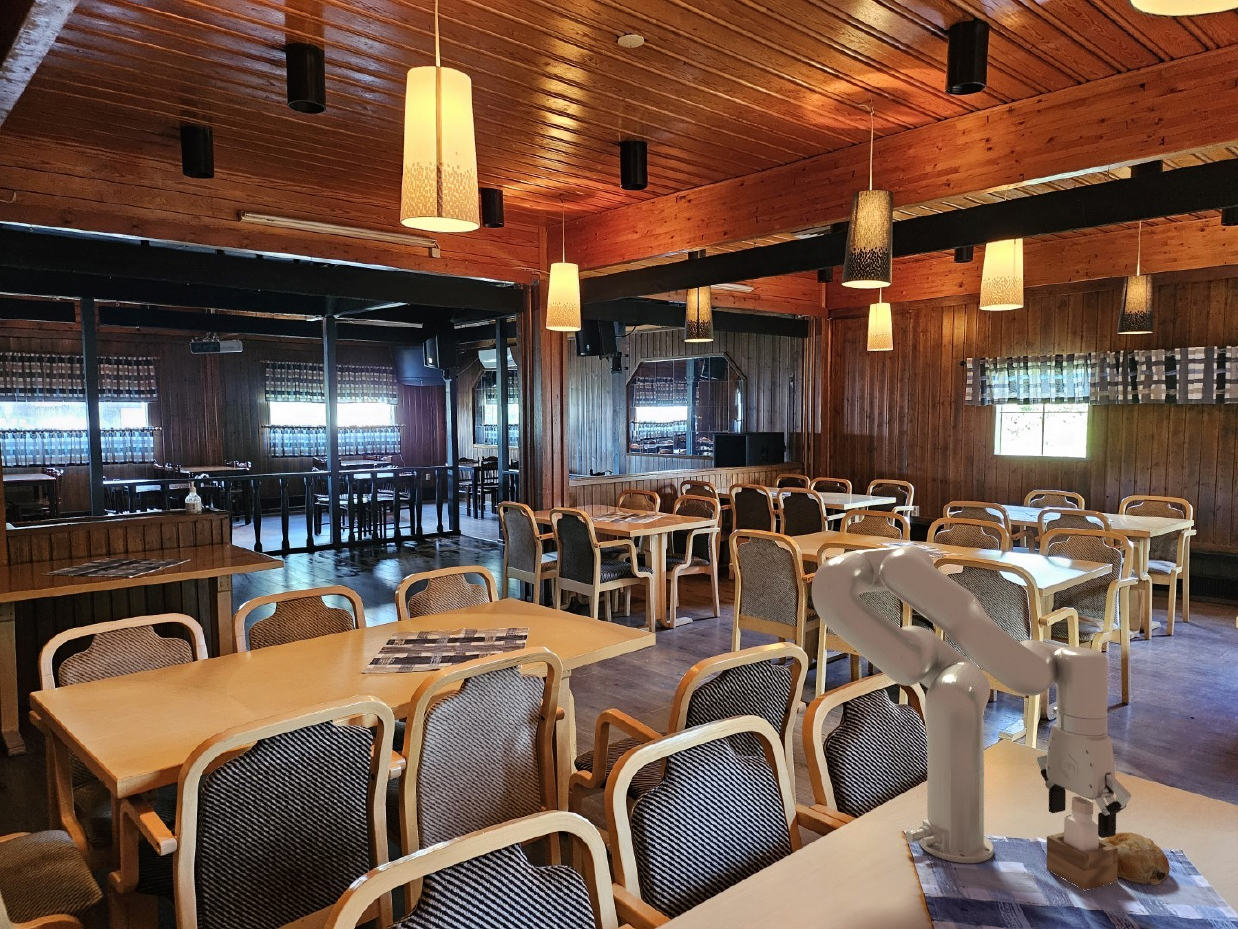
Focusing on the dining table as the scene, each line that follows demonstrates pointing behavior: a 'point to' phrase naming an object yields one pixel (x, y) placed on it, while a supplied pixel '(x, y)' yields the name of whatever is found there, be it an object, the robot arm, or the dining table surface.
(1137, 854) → the bread roll
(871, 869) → the dining table surface
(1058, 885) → the dining table surface
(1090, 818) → the pepper shaker
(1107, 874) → the wooden open box
